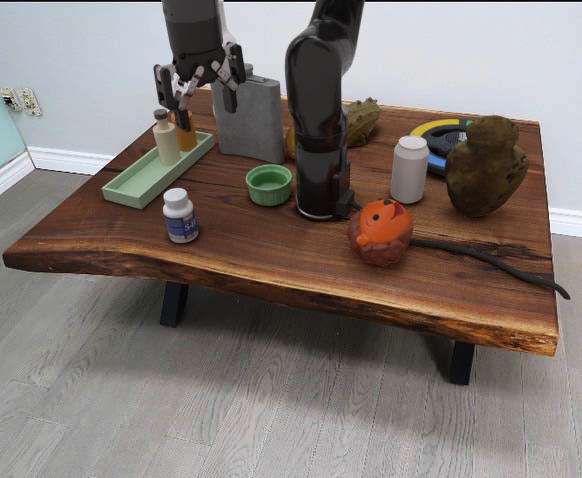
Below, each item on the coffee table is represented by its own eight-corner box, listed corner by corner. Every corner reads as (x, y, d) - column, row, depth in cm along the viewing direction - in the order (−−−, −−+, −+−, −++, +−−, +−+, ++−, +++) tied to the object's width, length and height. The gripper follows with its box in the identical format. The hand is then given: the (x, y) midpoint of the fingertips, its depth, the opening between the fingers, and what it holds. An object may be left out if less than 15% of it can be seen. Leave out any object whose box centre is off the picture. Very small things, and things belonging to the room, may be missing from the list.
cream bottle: (185, 157, 112) (175, 108, 104) (173, 167, 109) (162, 118, 101) (168, 153, 113) (157, 105, 106) (156, 163, 110) (144, 114, 103)
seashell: (385, 131, 121) (388, 89, 115) (365, 154, 110) (367, 109, 105) (342, 124, 125) (343, 84, 120) (318, 146, 114) (319, 102, 109)
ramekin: (273, 213, 95) (272, 194, 93) (238, 198, 100) (235, 180, 97) (301, 191, 101) (301, 172, 98) (267, 178, 105) (265, 159, 102)
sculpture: (434, 222, 91) (451, 120, 78) (440, 196, 97) (457, 98, 84) (512, 235, 87) (544, 130, 75) (513, 207, 93) (543, 106, 81)
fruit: (304, 142, 116) (303, 110, 111) (336, 154, 111) (337, 120, 106) (277, 160, 110) (275, 127, 105) (310, 173, 106) (309, 139, 101)
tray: (214, 145, 117) (213, 134, 115) (141, 209, 98) (138, 197, 97) (182, 138, 120) (180, 127, 119) (105, 199, 102) (101, 188, 100)
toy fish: (406, 282, 80) (414, 226, 72) (340, 273, 82) (342, 217, 75) (411, 235, 88) (419, 181, 81) (352, 228, 91) (354, 174, 84)
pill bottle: (192, 245, 89) (183, 204, 84) (165, 242, 90) (154, 202, 85) (202, 226, 93) (194, 186, 88) (176, 224, 94) (166, 184, 89)
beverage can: (427, 193, 98) (435, 138, 90) (414, 210, 94) (422, 153, 87) (398, 184, 101) (403, 130, 93) (384, 200, 97) (389, 145, 89)
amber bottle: (201, 143, 116) (193, 96, 109) (190, 153, 113) (181, 104, 106) (185, 140, 118) (175, 93, 110) (173, 149, 115) (163, 101, 107)
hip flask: (217, 152, 114) (204, 65, 102) (226, 144, 117) (214, 58, 104) (281, 165, 109) (274, 74, 96) (288, 156, 112) (283, 66, 99)
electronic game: (411, 125, 120) (413, 106, 117) (514, 137, 113) (519, 117, 110) (394, 175, 103) (396, 155, 100) (513, 192, 97) (519, 171, 94)
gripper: (160, 30, 63) (183, 145, 73) (250, 5, 70) (259, 113, 80) (131, 18, 67) (156, 128, 77) (218, -5, 74) (230, 99, 84)
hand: (208, 121), depth 79 cm, fingers open, 8 cm apart
